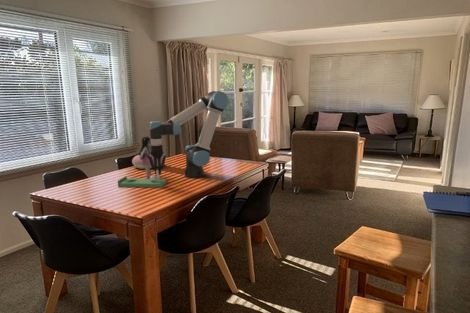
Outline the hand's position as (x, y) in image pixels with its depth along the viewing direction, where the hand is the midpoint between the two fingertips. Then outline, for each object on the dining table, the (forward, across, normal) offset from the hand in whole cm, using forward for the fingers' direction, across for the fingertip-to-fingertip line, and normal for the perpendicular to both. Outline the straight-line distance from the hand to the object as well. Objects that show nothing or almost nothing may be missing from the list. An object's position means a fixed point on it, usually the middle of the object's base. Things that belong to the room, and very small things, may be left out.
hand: (158, 179), depth 223 cm
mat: (+4, +11, 0) cm, 12 cm away
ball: (0, +4, 0) cm, 4 cm away
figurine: (+4, +15, -21) cm, 26 cm away
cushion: (+4, +27, -53) cm, 60 cm away
